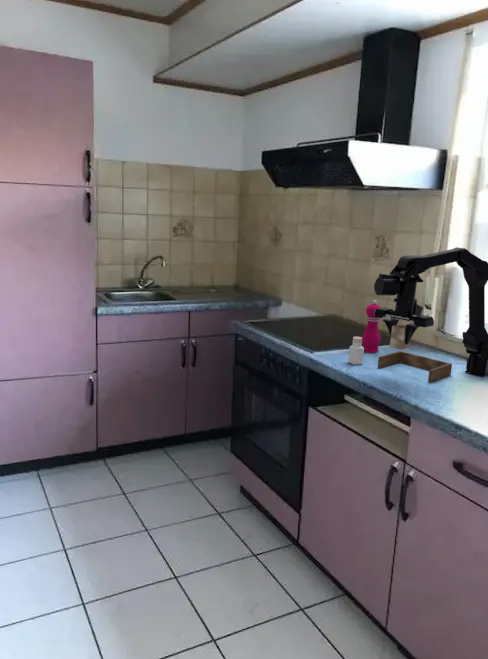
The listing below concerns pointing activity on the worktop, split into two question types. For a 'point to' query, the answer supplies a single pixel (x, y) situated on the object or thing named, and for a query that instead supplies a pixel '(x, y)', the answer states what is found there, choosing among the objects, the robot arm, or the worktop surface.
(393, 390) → the worktop surface
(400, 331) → the maple block
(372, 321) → the pepper mill
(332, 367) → the worktop surface
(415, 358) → the wooden u-shaped frame
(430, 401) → the worktop surface
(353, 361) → the salt shaker
